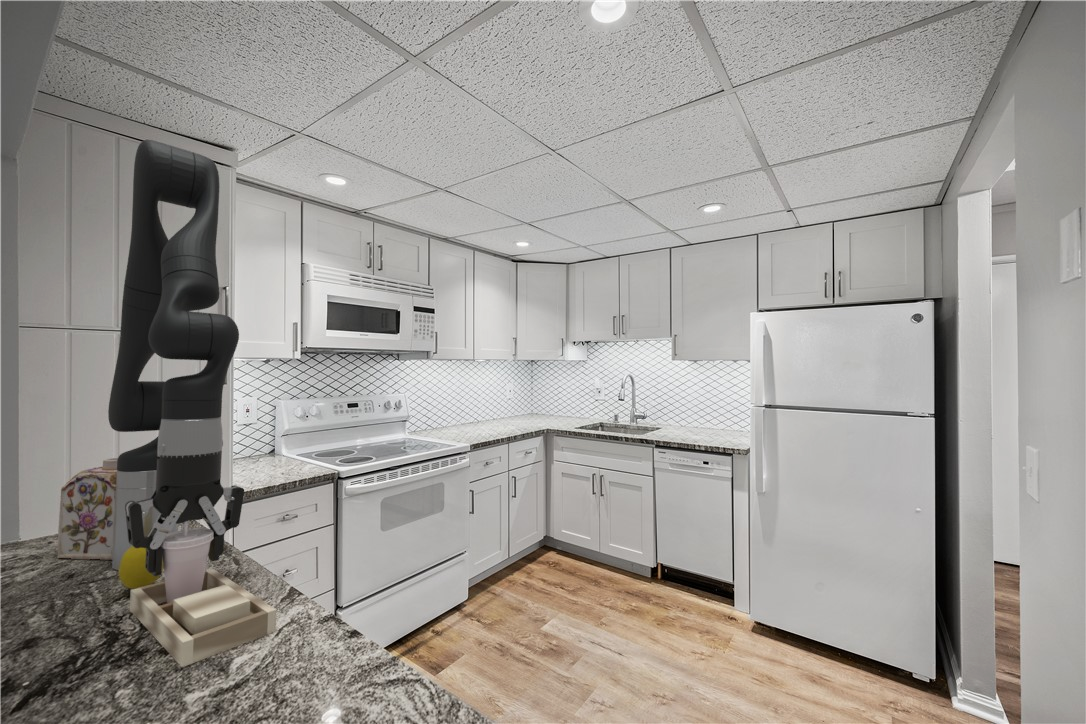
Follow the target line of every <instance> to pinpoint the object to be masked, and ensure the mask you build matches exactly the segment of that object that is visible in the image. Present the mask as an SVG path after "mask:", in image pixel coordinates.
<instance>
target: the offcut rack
mask: <svg viewBox="0 0 1086 724" xmlns="http://www.w3.org/2000/svg"><path fill="white" fill-rule="evenodd" d="M223 585H228V586H229V587H231V588H232V589H234V590H235V591H237V592H238V593H240V594H241V595H243V596H244V597H246V598H247V599H249V600H250V611H251V612H252V613H253V615H250V616H247V617H244V618H241V619H238V620H235V621H233V622H230V623H227V624H224V625H221V626H218V627H215V628H212V629H210V630H207V631H204V632H201V633H198V634H195V635H192V636H190V635H189V634H188V633H187V632H186V631H185V630H184V629H183V628H182V627H181V626H179V625H178V624H177V623H176V622H175V617H174V616H173V602H171V603H167V597H166V587H165V580H164V581H159V582H156V583H152V584H151V585H148V586H144V587H140V588H136V589H130V591H129V592H130V593H129V595H130V598H129V611H130V612H131V613H132V614H133V615H134V616H135V617H136V618H137V620H139V622H140V623H141V624H142V625H143V626H144V628H146V630H147V631H148V632H149V633H150V634H151V635H152V636H153V637H154V638H155V639H156V640H157V642H159V644H160V645H161V646H162V647H163V648H164V650H166V651H167V653H168V654H169V655H170V656H171V657H172V658H173V660H175V661H176V662H177V664H178V665H179V666H180V667H181V668H183V667H186V666H189V665H192V664H195V663H197V662H199V661H202V660H205V659H207V658H210V657H213V656H214V655H218V654H220V653H223V652H225V651H228V650H230V649H231V650H232V649H233V648H236V647H238V646H241V645H243V644H246V643H249V642H251V641H254V640H257V639H259V638H261V637H264V636H267V635H269V634H272V633H274V632H276V630H277V629H276V627H277V622H276V621H277V609H276V608H274V607H273V606H272V605H269V604H268V603H266V602H265V601H264V600H262V599H260V598H259V597H258V596H256V595H255V594H252V593H251V592H249V591H248V590H247V589H245V588H243V587H242V586H241V585H239V584H237V583H236V582H234V581H233V580H232V579H229V578H228V577H226V576H225V575H223V574H222V573H221V572H219V571H218V570H216V569H214V568H210V569H205V575H204V580H203V586H202V591H205V590H209V589H212V588H216V587H219V586H223ZM202 591H201V592H202ZM161 604H162V605H161Z"/></svg>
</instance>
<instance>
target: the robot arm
mask: <svg viewBox="0 0 1086 724" xmlns="http://www.w3.org/2000/svg"><path fill="white" fill-rule="evenodd" d="M133 164H134V166H133V178H132V179H133V182H132V183H133V184H132V209H131V210H132V215H131V232H130V242H129V243H130V244H129V251H128V255H127V256H128V258H127V264H126V271H125V278H124V284H123V292H122V300H121V301H122V302H121V303H122V304H121V317H120V321H121V322H120V334H119V335H120V336H119V345H118V351H117V358H116V364H115V370H114V374H113V378H112V379H113V380H112V385H111V390H110V394H109V402H108V411H107V414H108V421H109V422H108V423H109V425H110V427H111V429H112V430H114V431H116V432H119V433H129V432H130V433H132V432H133V433H135V432H136V433H137V432H151V431H153V432H154V431H158V435H157V437H155V438H154V439H153V440H151V441H150V442H149V441H148V443H145V444H144V445H142V446H138V447H135V448H132V449H130V450H127V451H124V452H122V453H120V454H119V455H118V456H117V457H118V460H117V477H116V500H115V521H114V542H113V560H112V562H111V563H112V564H111V568H112V569H113V570H116V571H119V566H120V562H121V559H122V557H123V555H124V553H125V552H126V551H127V550H128V549H129V548H130V547H132V546H133V547H135V548H146V561H145V568H146V570H147V571H148V572H149V573H151V574H152V575H153V576H158V575H160V576H162V573H163V571H162V551H163V548H162V547H160V545H161V544H162V542H163V540H164V539H165V537H166V535H167V534H169V533H172V532H176V531H179V524H183V523H184V522H186V521H188V522H189V521H199V520H203V521H204V522H205V523H206V525H207V527H208V529H211V530H213V531H214V534H213V536H214V539H213V540H212V541H211V542H210V548H209V553H208V560H210V561H211V562H217V561H219V560H220V557H221V556H223V554H224V551H225V550H224V549H225V547H224V546H225V534H226V532H227V531H229V530H231V529H232V528H233V529H234V528H237V527H239V525H240V520H241V513H242V508H243V501H244V496H245V489H244V487H241V486H240V485H231V486H230V487H223V486H222V483H221V480H222V479H221V477H222V460H223V459H222V455H223V446H224V440H223V425H222V408H223V407H222V405H223V404H222V403H223V389H224V384H225V380H226V378H227V375H228V370H229V368H230V365H231V362H232V360H233V358H234V355H235V352H236V350H237V347H238V343H239V339H240V332H239V331H240V330H239V327H238V324H237V323H236V322H235V320H234V319H233V318H231V317H230V316H229V315H225V314H222V313H213V312H212V313H211V312H209V313H208V312H202V310H206V309H209V308H211V307H213V306H215V305H216V304H217V303H218V301H219V299H220V286H219V284H220V283H219V276H218V275H219V273H218V266H217V256H216V255H217V254H216V253H217V252H216V251H217V249H216V248H217V237H218V236H217V235H218V225H219V204H220V174H219V170H218V166H217V165H216V163H215V162H214V161H213V160H212V159H211V158H209V157H207V156H205V155H202V154H200V153H197V152H194V151H191V150H186V149H184V148H180V147H178V146H177V147H176V146H173V145H169V144H167V143H163V142H159V141H156V140H152V139H144V140H142V141H141V142H140V143H139V144H138V145H137V149H136V153H135V157H134V163H133ZM159 202H161V203H162V202H164V203H168V204H172V205H175V206H181V207H186V208H189V209H195V210H194V211H195V212H194V214H193V215H192V217H191V219H190V220H188V222H187V223H186V224H185V225H183V227H181V228H180V229H179V230H178V231H177V232H176V233H174V234H173V236H171V237H170V238H168V236H167V234H166V232H165V230H164V227H163V224H162V222H161V219H160V214H159V206H158V205H159ZM198 311H199V312H198ZM155 354H156V355H157V356H158V357H160V358H162V359H166V360H181V361H182V360H185V361H186V360H187V361H188V360H189V361H207V362H206V365H205V366H204V368H203V369H202V370H201V371H199V372H198V373H194V374H190V375H181V376H176V377H171V378H169V379H167V380H166V381H159V380H158V381H154V380H153V381H152V380H151V381H147V380H144V381H143V380H142V381H141V380H140V381H139V379H140V377H141V375H142V373H143V371H144V369H145V366H146V365H147V363H148V362H149V361H150V359H151V358H152V357H153V356H154V355H155ZM222 497H223V498H224V500H225V501H226V509H225V515H224V519H223V520H222V519H221V517H220V515H219V513H218V512H217V510H216V509H215V506H216V504H217V503H218V502H219V500H220V499H221V498H222ZM161 572H162V573H161Z"/></svg>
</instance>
